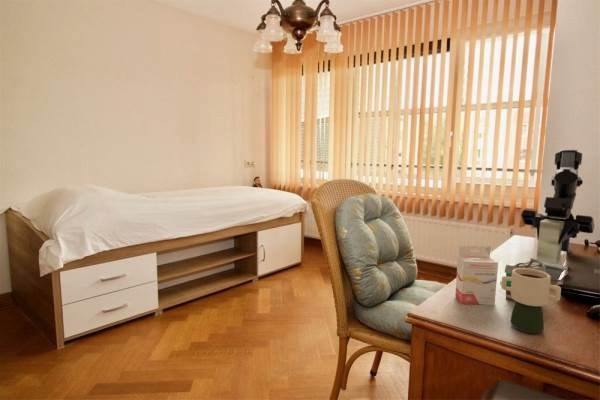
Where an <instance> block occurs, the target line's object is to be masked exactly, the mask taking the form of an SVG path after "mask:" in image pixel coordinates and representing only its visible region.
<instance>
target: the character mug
mask: <svg viewBox="0 0 600 400" xmlns="http://www.w3.org/2000/svg"><path fill="white" fill-rule="evenodd" d="M501 280H502V283H501V284H500V285H501V286H500V287H501V289H502V290H503V291H506V290H507V291H511V297H512V299H514V300H515V301H516V302H514V304H513V308H512V312H511V316H510V321H509V322H510V324H511V325H512V326H513V327H514V328H516V329H517V330H520V331H522V332H526V333H530V334H532V333H533V334H534V333H535V334H537V333H541V332H542V331H544V330H545V322H544V311H543V308H542V307H543V306H546V305H547V304H548V302H549V301H550V300H551V301H556V302H557V301H560V300H561V296H562V295H561V293H562V287H561V286H559V285H554V284H551V281H552V280H551V277H550V275H549V274H547V273H545V272H542V271H539V270H535V269H528V268H517V269H514V270H512V277H507V276H506V275H503V276H501ZM507 281H511V287H508V286H506V282H507ZM551 290H554V295H552V294H550V291H551Z"/></svg>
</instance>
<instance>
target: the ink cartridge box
mask: <svg viewBox="0 0 600 400" xmlns="http://www.w3.org/2000/svg"><path fill="white" fill-rule="evenodd" d="M473 250H476V251H473ZM456 263H457V264H456V266H457V267H456V281H455V297H456V299H457V300H458V301H459V303H460V304H463V305H464V304H465V305H481V306H482V305H484V306H485V305H487V306H495V305H496V293H497V281H498V279H497V278H498V269H499V262H498V261H497V260H496V259H494V258H492V257H491V246H490V245H460V246H459V249H458V256H457V262H456Z"/></svg>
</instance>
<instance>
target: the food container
mask: <svg viewBox="0 0 600 400" xmlns="http://www.w3.org/2000/svg"><path fill="white" fill-rule="evenodd" d="M529 259H530V261H527V262H518V263H516V264H515V265H510V264H506V265H505V269H504V273H505V276H507V277H512V270H514V269H517V268H528V269H535V270H539V271H542V272H545V273H546V269H545V266H544V264H543V263H542V262H541V261H538V260H536V258H533V257H531V258H529ZM506 286H508V287H511V281H507V282H506ZM505 300H506V301H508V302H511V303H515V302H516V301H515V300H514V299H512V297H511V291H507V290H505Z"/></svg>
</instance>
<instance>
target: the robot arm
mask: <svg viewBox="0 0 600 400" xmlns="http://www.w3.org/2000/svg"><path fill="white" fill-rule="evenodd" d="M554 155H555V156H554V165H556V170H555V172H554V173H555V174H554V175H553V176H552V177H551V184H550V185H551V187H553V191H554V194H553V197H550V196H547V197H545V199H544V203H543V204H544V205H543V207H544V208H545V210H544V213H545V215H544V214H542V213H538V211H537V210H536V209H535V210H534V209H523V210H522V211H521V214H520V216H521V218H522V221H523V224H524V225H526V226H533V228H535V229H536V237H537V240H538V239H539V230H540V221H542V220H545V219H549V220H556V221H564V229H563V231H562V233H561V235H560V238H559V241H558V244H561V243H562V246H561V251H565V252H567V254H569V253H571V252H572V249H571V248H570V241H571V239H575V238H577V236H578V234H580V233H585V234H593V233H594V230H595V222H594V221H595V220H594V217H592V215H582V214H576V216H575V217H574V215H573V214H572V209H573V207H574V202H575V199H576V196H577V193H576V191H577V188H580V187H581V185H583V182H584V181H583V180H582V178H581V176H579V167H580V166H582V163H583V153H582V152H579V151H578V149H575V148H574V149H560V151H559V152H555V154H554Z"/></svg>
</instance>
